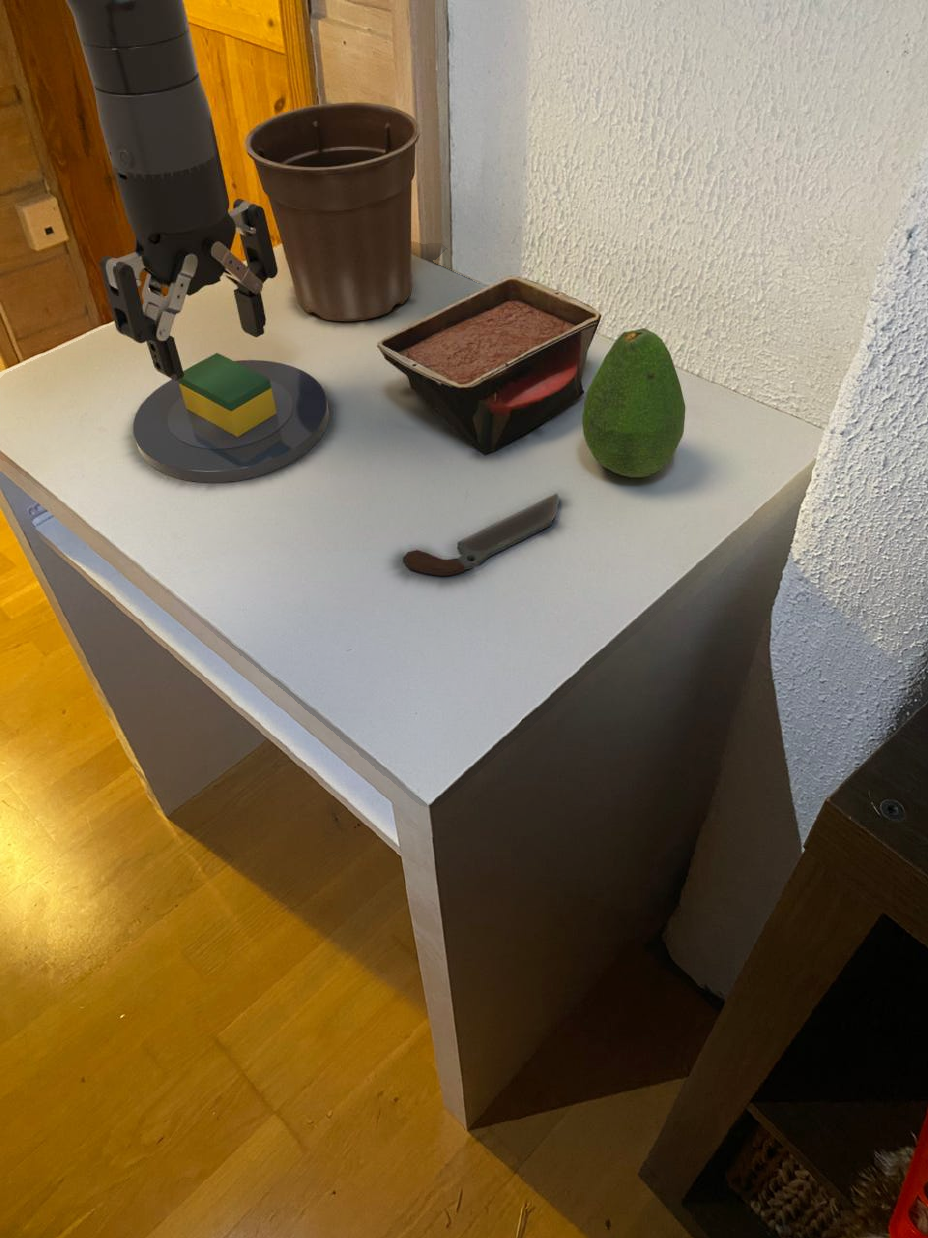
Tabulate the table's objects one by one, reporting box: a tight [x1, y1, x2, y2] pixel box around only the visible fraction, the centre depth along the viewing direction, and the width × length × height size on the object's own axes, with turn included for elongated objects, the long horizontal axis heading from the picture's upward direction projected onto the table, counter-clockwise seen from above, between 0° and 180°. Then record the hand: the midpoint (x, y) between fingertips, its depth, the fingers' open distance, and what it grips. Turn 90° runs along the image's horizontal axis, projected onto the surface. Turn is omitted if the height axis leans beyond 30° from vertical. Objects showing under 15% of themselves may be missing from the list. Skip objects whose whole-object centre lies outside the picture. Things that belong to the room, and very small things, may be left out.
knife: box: [402, 493, 560, 577], centre depth 70 cm, size 14×4×1 cm, turn 125°
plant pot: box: [244, 101, 421, 322], centre depth 92 cm, size 16×16×16 cm
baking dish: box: [376, 275, 603, 456], centre depth 81 cm, size 14×18×10 cm
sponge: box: [178, 352, 277, 437], centre depth 80 cm, size 4×7×4 cm, turn 50°
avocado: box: [581, 327, 686, 478], centre depth 72 cm, size 8×8×12 cm
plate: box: [132, 359, 330, 484], centre depth 82 cm, size 17×17×1 cm
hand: (214, 354), depth 77 cm, fingers open, 8 cm apart
